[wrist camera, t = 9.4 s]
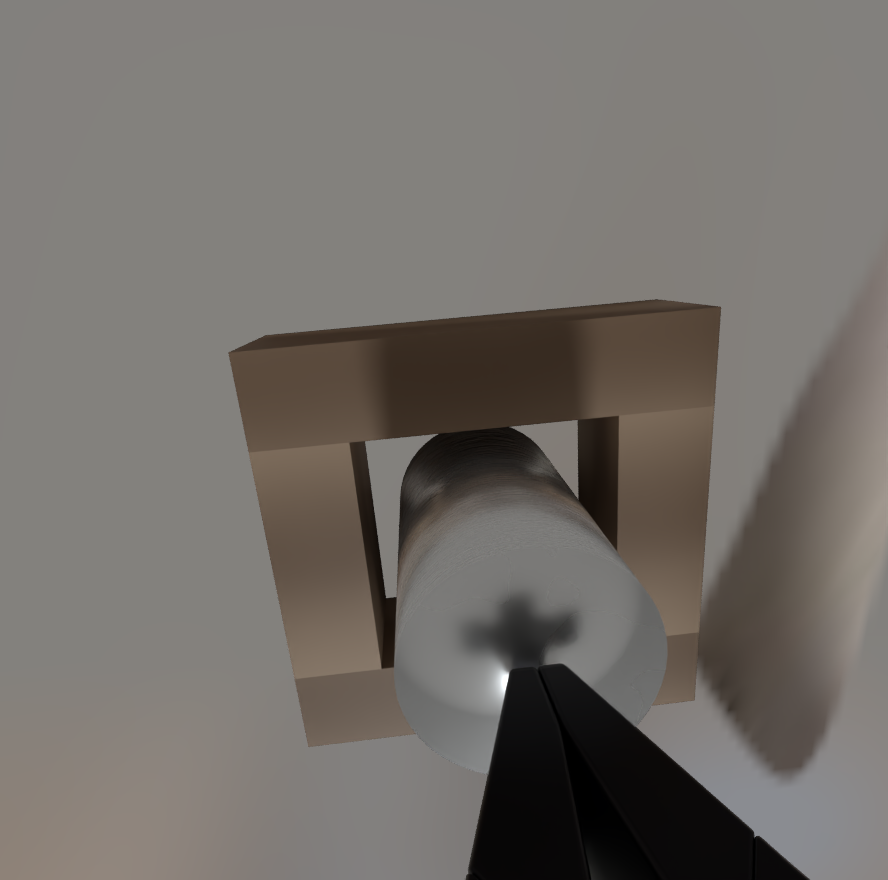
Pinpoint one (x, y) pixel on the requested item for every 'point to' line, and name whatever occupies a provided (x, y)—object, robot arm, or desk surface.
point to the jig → (463, 409)
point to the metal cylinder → (508, 593)
